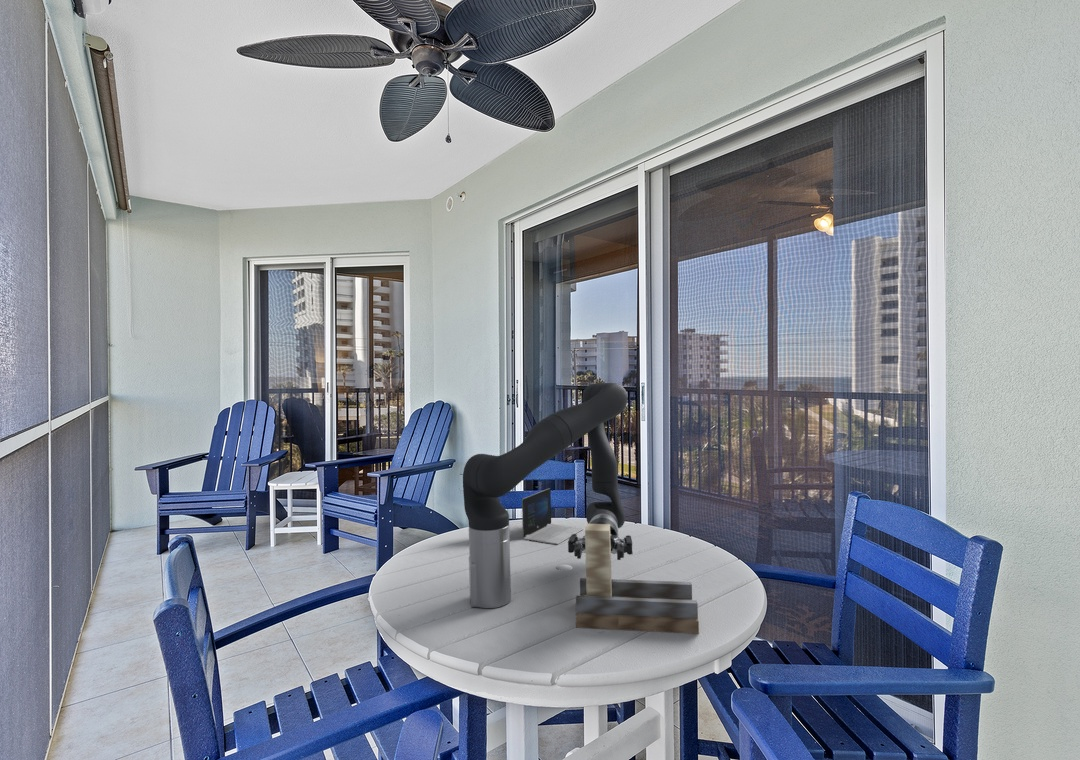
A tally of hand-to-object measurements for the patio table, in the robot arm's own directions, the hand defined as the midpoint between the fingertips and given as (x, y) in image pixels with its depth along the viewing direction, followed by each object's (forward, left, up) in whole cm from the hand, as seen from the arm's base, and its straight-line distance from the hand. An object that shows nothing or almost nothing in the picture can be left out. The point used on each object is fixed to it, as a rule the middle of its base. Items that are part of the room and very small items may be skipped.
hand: (598, 554), depth 115 cm
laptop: (+3, +58, -13) cm, 60 cm away
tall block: (0, 0, -10) cm, 10 cm away
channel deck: (+7, -3, -13) cm, 15 cm away
